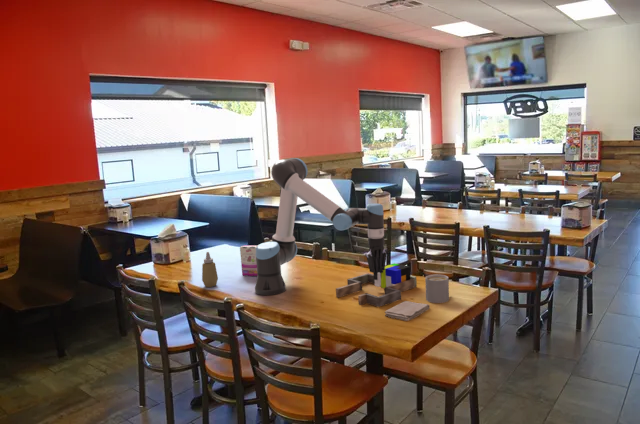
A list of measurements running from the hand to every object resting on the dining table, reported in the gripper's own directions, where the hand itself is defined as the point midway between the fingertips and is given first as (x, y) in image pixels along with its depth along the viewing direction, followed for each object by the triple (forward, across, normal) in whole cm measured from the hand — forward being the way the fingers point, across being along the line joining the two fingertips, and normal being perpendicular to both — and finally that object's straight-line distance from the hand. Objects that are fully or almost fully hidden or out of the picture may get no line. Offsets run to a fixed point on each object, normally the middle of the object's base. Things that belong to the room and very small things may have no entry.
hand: (377, 285), depth 250 cm
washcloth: (+3, -12, -29) cm, 32 cm away
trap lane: (+3, -1, 0) cm, 3 cm away
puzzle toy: (+3, +10, -2) cm, 11 cm away
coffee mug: (+3, +11, -28) cm, 30 cm away
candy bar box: (+3, -25, +72) cm, 76 cm away
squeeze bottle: (+3, -51, +71) cm, 88 cm away
